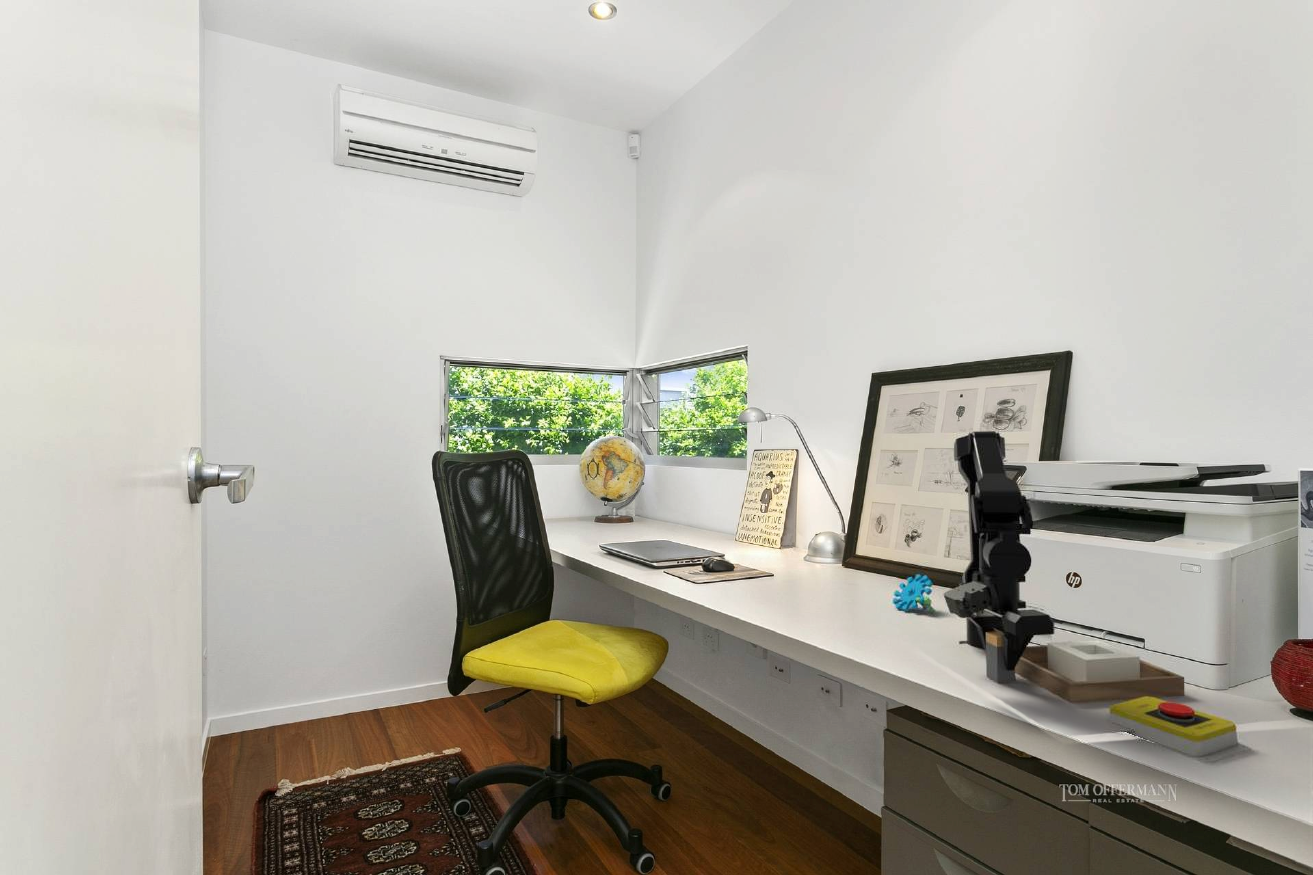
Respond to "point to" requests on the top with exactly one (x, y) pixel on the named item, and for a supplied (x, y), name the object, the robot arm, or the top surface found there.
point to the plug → (996, 660)
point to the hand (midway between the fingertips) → (1000, 665)
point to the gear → (914, 593)
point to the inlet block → (1092, 661)
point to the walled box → (1149, 683)
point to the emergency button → (1179, 728)
